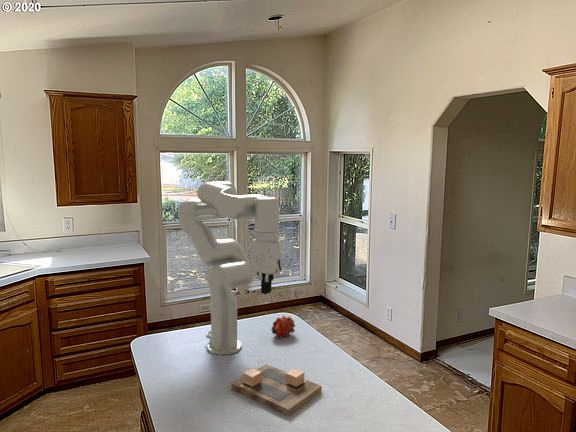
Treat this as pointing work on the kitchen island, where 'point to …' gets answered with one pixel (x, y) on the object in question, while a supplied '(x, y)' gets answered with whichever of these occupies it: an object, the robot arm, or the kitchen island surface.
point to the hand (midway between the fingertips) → (266, 292)
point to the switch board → (278, 391)
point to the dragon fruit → (283, 327)
